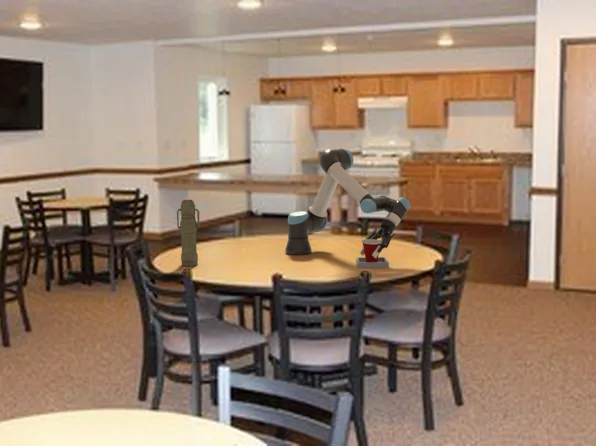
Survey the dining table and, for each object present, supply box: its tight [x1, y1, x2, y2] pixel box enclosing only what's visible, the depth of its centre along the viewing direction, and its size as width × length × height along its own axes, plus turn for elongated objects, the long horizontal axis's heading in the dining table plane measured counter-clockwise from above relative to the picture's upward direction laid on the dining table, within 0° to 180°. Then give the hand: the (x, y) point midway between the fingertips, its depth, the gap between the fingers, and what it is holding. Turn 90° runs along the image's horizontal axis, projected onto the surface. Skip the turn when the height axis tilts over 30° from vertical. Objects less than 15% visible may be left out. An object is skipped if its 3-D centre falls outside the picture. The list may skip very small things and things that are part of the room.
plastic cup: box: [361, 238, 382, 262], centre depth 421 cm, size 11×11×12 cm
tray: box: [355, 256, 390, 269], centre depth 422 cm, size 16×16×3 cm
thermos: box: [176, 199, 200, 268], centre depth 426 cm, size 9×12×35 cm
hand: (367, 255), depth 420 cm, fingers closed on plastic cup, 10 cm apart
